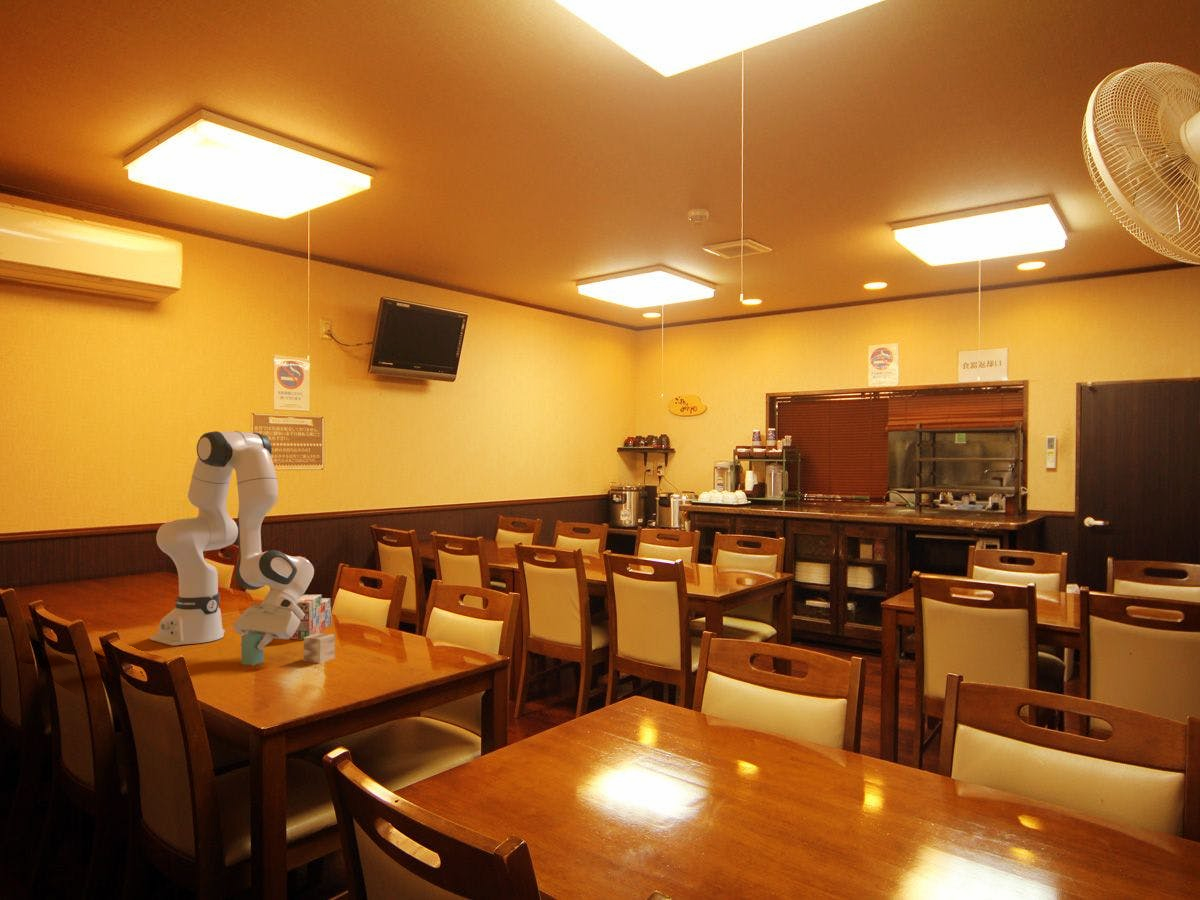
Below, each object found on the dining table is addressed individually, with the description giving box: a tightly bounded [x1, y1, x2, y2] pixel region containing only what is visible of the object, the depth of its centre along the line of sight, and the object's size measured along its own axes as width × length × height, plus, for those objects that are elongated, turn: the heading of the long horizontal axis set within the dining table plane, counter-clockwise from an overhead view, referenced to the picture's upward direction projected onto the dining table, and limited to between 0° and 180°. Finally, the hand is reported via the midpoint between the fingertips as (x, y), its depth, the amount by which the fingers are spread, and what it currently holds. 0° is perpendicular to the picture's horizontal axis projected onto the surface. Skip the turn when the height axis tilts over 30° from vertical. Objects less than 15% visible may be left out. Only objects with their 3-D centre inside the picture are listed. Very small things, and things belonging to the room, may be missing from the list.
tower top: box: [303, 632, 336, 652], centre depth 218 cm, size 6×6×4 cm
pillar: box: [241, 633, 264, 666], centre depth 214 cm, size 4×4×8 cm
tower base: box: [303, 646, 336, 664], centre depth 218 cm, size 6×6×4 cm
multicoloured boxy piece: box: [289, 594, 332, 640], centre depth 252 cm, size 21×6×12 cm, turn 2°
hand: (250, 647), depth 214 cm, fingers closed on pillar, 4 cm apart
